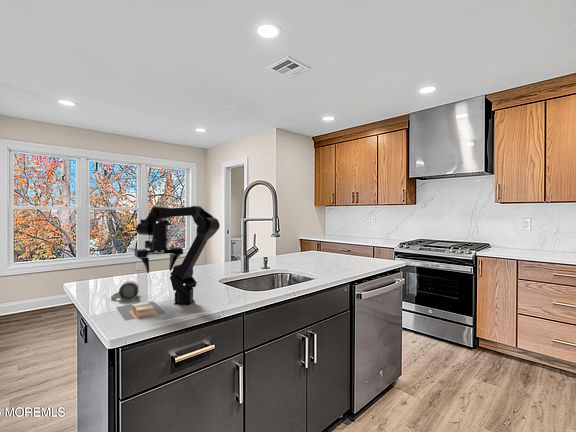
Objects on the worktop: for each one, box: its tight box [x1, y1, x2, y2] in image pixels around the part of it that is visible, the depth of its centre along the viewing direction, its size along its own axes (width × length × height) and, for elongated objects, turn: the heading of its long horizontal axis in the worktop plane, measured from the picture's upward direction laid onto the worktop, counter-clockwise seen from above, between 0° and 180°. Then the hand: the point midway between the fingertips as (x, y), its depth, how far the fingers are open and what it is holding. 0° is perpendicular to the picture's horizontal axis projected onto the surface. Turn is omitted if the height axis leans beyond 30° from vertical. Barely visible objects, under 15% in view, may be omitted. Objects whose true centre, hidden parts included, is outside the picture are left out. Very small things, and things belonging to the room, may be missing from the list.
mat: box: [115, 300, 167, 322], centre depth 120 cm, size 14×18×1 cm
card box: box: [132, 301, 154, 317], centre depth 117 cm, size 8×6×2 cm, turn 38°
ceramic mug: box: [110, 280, 139, 301], centre depth 136 cm, size 11×8×8 cm
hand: (159, 271), depth 135 cm, fingers open, 9 cm apart
